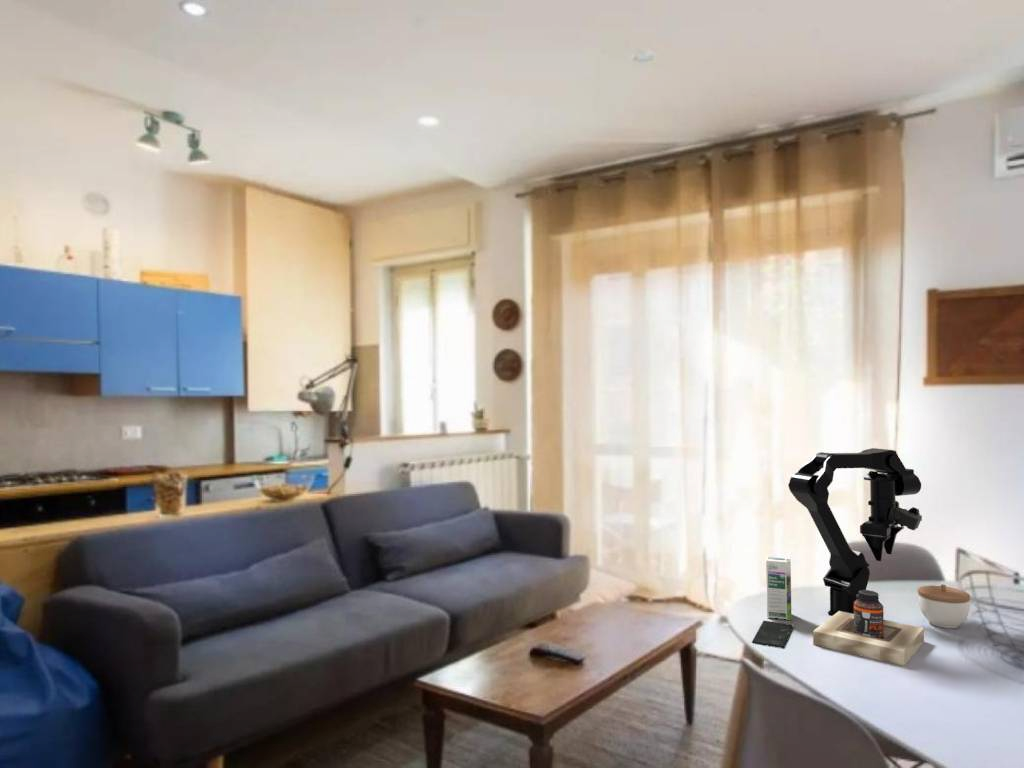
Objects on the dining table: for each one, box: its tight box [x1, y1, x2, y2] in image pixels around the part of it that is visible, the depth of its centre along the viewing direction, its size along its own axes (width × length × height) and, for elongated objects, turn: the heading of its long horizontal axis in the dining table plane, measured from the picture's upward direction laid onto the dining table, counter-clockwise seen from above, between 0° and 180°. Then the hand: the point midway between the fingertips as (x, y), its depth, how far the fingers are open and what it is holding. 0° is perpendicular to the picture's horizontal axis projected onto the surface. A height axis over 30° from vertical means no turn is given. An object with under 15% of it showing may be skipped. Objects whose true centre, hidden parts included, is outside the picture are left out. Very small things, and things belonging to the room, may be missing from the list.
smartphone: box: [751, 620, 794, 649], centre depth 158 cm, size 7×1×15 cm
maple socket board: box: [812, 611, 925, 667], centre depth 152 cm, size 18×18×3 cm
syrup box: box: [765, 555, 792, 621], centre depth 171 cm, size 6×6×14 cm
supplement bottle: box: [854, 589, 885, 639], centre depth 153 cm, size 6×6×11 cm
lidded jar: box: [917, 584, 971, 629], centre depth 164 cm, size 11×11×9 cm
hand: (884, 557), depth 176 cm, fingers open, 9 cm apart
